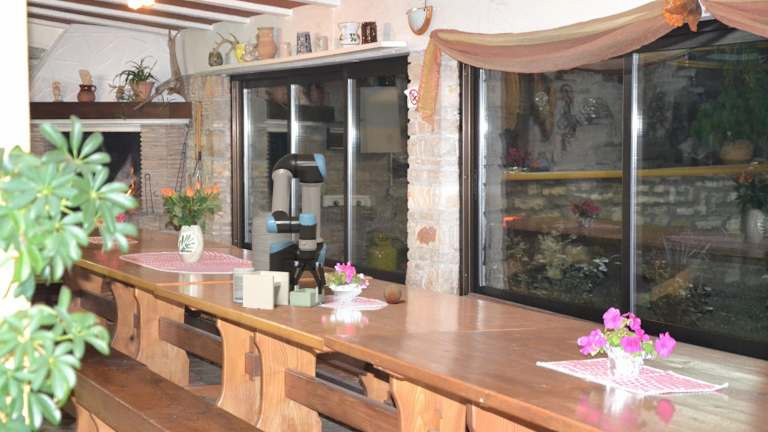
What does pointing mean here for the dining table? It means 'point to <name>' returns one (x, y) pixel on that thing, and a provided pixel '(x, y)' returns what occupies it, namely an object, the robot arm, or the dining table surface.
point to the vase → (263, 242)
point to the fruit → (392, 294)
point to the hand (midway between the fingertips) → (307, 301)
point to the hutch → (265, 289)
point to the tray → (305, 297)
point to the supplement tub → (239, 283)
